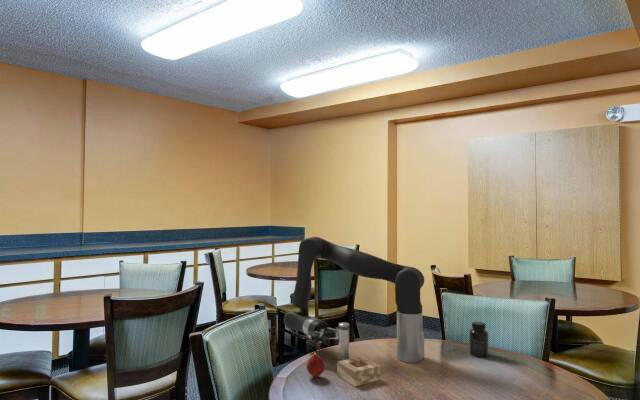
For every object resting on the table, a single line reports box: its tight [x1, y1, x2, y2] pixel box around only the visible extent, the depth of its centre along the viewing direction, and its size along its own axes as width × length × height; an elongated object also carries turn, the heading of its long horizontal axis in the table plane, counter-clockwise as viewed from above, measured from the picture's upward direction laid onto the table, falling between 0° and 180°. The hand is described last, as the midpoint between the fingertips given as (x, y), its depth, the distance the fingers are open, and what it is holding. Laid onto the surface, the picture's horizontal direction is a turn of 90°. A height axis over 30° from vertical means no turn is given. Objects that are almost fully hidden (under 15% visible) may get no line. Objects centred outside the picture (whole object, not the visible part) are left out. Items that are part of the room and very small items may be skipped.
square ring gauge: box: [336, 356, 381, 387], centre depth 135 cm, size 10×10×4 cm
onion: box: [306, 352, 326, 379], centre depth 135 cm, size 6×6×8 cm
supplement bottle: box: [468, 321, 489, 358], centre depth 158 cm, size 7×7×12 cm
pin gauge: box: [337, 321, 350, 361], centre depth 145 cm, size 4×4×15 cm
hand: (338, 340), depth 147 cm, fingers open, 8 cm apart
